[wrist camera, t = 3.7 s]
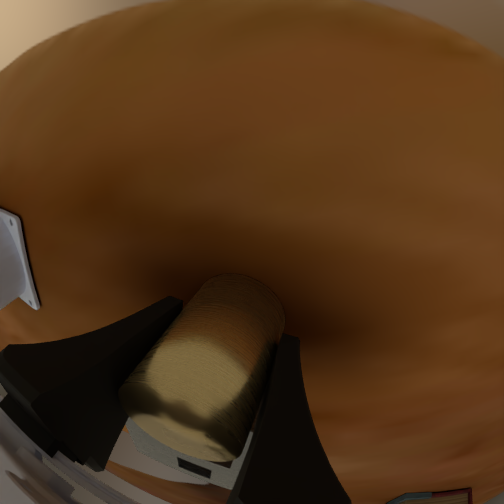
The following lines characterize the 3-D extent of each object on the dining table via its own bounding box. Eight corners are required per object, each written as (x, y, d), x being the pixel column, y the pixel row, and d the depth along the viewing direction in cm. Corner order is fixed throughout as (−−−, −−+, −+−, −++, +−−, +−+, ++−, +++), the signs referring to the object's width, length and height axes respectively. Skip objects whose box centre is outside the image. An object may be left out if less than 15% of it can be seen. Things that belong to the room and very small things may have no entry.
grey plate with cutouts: (146, 436, 22) (137, 450, 21) (122, 348, 16) (105, 368, 14) (261, 480, 20) (255, 496, 18) (308, 416, 14) (302, 445, 12)
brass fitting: (194, 332, 13) (129, 427, 8) (199, 261, 11) (106, 361, 6) (273, 358, 13) (233, 471, 7) (295, 290, 11) (253, 424, 6)
